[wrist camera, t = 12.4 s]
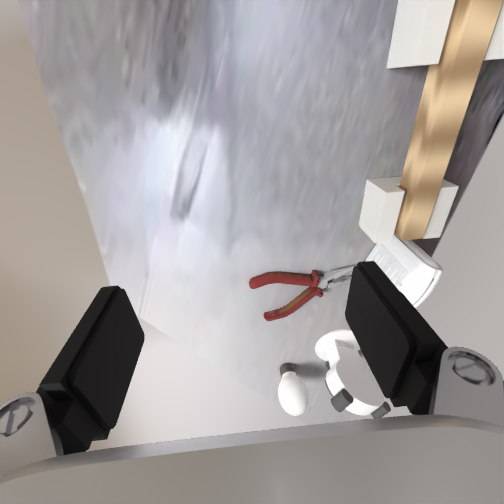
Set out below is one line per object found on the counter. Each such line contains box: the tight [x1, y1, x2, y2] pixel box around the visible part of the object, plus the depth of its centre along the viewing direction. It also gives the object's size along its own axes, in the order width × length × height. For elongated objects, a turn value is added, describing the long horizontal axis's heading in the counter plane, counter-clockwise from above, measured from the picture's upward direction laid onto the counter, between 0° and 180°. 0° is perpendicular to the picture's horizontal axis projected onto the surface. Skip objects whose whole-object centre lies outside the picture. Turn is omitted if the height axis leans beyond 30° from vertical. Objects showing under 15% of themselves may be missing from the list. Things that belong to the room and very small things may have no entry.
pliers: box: [249, 265, 357, 321], centre depth 50 cm, size 12×20×3 cm, turn 109°
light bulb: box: [278, 363, 308, 416], centre depth 61 cm, size 7×7×11 cm
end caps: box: [359, 0, 504, 243], centre depth 34 cm, size 30×10×6 cm, turn 4°
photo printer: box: [365, 233, 443, 308], centre depth 43 cm, size 10×4×12 cm, turn 162°
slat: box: [394, 0, 503, 240], centre depth 32 cm, size 28×3×4 cm, turn 4°
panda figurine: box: [315, 329, 391, 419], centre depth 55 cm, size 12×11×15 cm
